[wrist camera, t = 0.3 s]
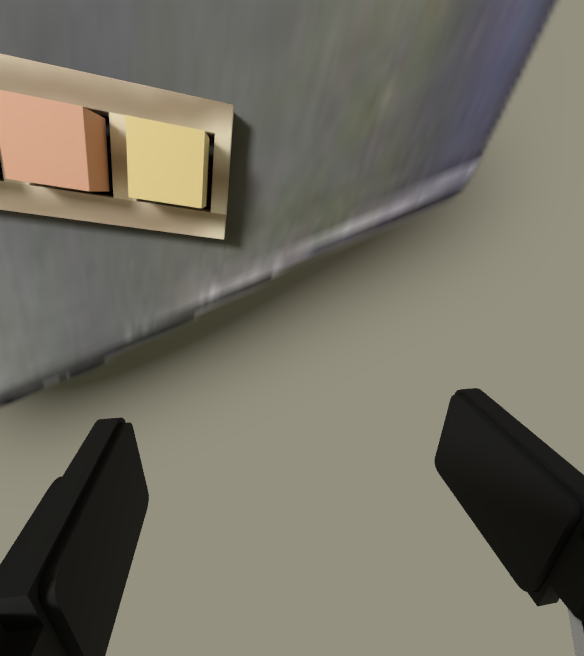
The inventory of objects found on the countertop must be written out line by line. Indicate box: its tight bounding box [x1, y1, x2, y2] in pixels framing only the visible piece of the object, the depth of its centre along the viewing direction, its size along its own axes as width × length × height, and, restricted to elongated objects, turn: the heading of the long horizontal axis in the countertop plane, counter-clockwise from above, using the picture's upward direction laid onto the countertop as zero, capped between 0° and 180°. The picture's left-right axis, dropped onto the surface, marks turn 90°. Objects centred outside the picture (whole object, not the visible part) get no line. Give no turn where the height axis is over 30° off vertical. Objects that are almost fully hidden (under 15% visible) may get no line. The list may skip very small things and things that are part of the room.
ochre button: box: [125, 115, 209, 208], centre depth 28 cm, size 6×6×4 cm
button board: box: [0, 54, 234, 240], centre depth 29 cm, size 12×28×3 cm, turn 81°
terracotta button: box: [0, 90, 109, 191], centre depth 26 cm, size 6×6×4 cm
